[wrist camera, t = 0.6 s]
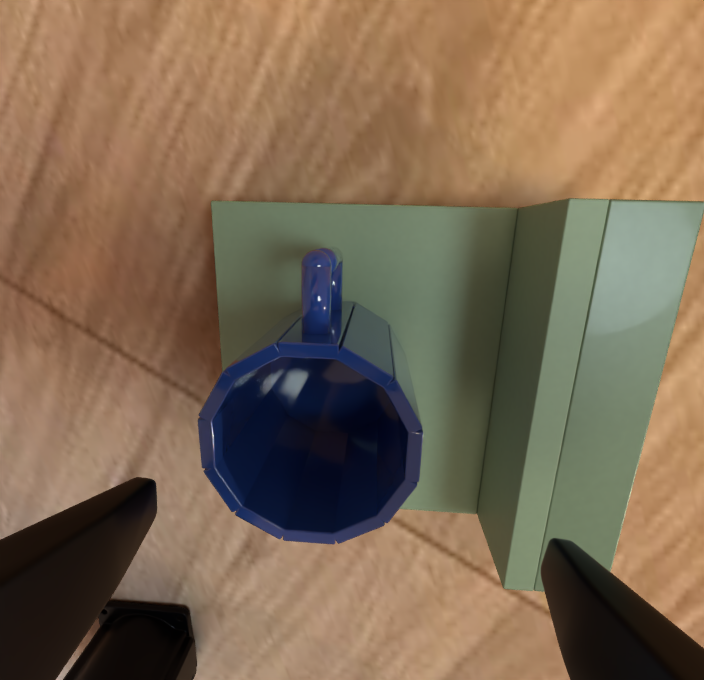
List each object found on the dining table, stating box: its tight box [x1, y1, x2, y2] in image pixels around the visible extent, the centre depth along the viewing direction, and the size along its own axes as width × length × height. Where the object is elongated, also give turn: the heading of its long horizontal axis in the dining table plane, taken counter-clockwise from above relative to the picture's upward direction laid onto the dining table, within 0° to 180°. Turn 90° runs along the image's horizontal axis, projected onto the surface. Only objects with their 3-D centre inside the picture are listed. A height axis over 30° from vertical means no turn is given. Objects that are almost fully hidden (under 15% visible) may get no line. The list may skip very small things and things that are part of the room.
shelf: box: [211, 198, 704, 592], centre depth 17 cm, size 17×15×8 cm
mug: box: [198, 246, 424, 544], centre depth 14 cm, size 7×9×7 cm
